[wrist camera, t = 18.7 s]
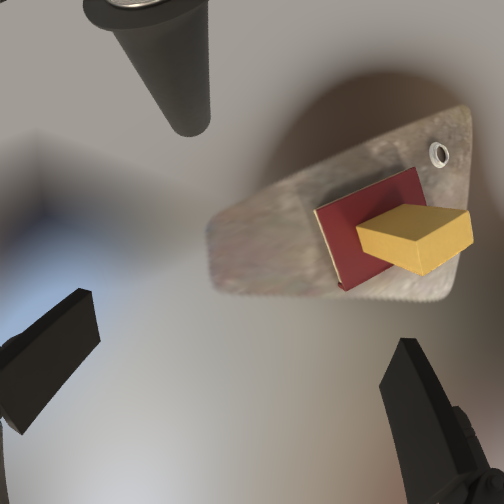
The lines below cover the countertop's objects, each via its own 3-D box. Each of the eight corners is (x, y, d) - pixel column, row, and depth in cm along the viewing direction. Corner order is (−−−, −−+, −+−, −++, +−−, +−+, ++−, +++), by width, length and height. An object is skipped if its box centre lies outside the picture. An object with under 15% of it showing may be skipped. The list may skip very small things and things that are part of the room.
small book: (355, 226, 34) (415, 241, 22) (404, 203, 34) (469, 209, 22) (363, 252, 35) (422, 276, 23) (411, 227, 35) (475, 241, 23)
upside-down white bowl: (440, 143, 37) (419, 137, 37) (452, 141, 35) (430, 135, 34) (441, 173, 38) (420, 169, 38) (453, 172, 35) (432, 167, 35)
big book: (333, 283, 39) (345, 291, 35) (305, 208, 37) (316, 210, 33) (419, 236, 40) (435, 240, 36) (399, 168, 37) (415, 166, 33)
